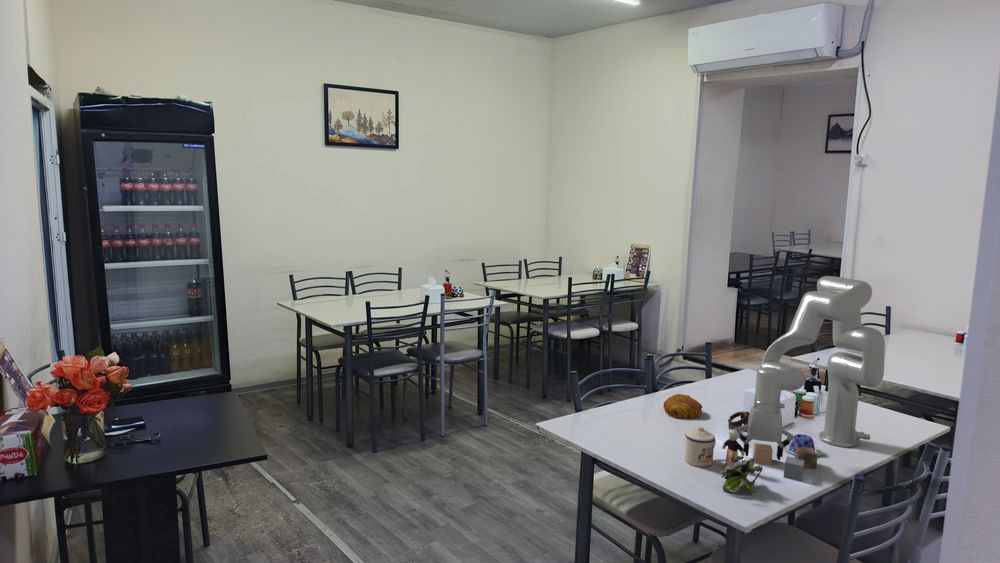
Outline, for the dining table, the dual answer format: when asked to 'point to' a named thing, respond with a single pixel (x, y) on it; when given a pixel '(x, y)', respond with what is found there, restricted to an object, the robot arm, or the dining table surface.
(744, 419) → the brown curved piece
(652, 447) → the dining table surface
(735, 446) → the grandmother figurine
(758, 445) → the terracotta cube
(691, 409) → the croissant
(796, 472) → the slate grey cube
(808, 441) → the purple patterned hat
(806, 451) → the walnut cube
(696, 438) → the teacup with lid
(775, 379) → the robot arm
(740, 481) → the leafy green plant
